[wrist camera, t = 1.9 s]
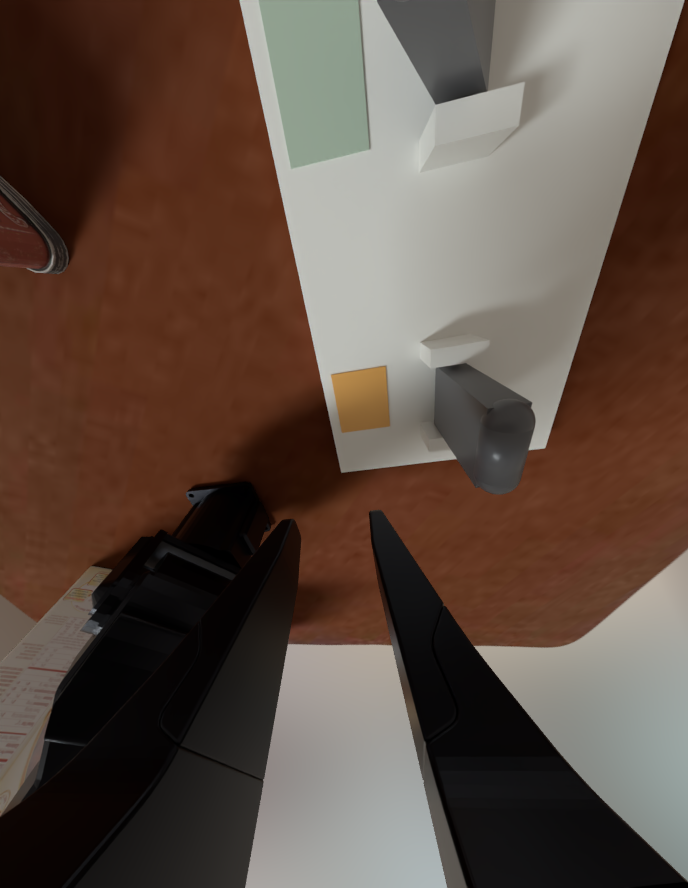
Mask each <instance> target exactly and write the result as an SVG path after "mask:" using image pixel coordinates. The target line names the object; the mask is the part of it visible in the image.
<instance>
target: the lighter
mask: <svg viewBox="0 0 688 888" xmlns="http://www.w3.org/2000/svg"><path fill="white" fill-rule="evenodd" d="M68 260H69V257H68V251H67V248H66V246H65V244H64V241H63V240H62V238H61V237H60V236H59V234H58V233H57V232H56V231H55V230H54V229H53V228H52V226H51V225H50V224H49V223H48V222H47V221H46V220H45V219H44V218H43V217H42V216H41V215H40V214H39V213H38V212H37V211H36V210H35V208H34V207H33V206H32V205H31V204H30V203H29V202H28V201H27V200H26V199H25V198H24V197H23V196H22V195H21V194H19V193H18V192H17V191H16V190H15V189H14V188H13V187H12V186H11V185H10V184H9V183H8V182H7V181H5V180H4V179H3V178H2V177H1V176H0V266H9V267H21V268H27V269H29V270H31V271H33V272H36V273H51V274H59V273H61V272H64V271H65V269H66V268H67V266H68Z"/></svg>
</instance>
